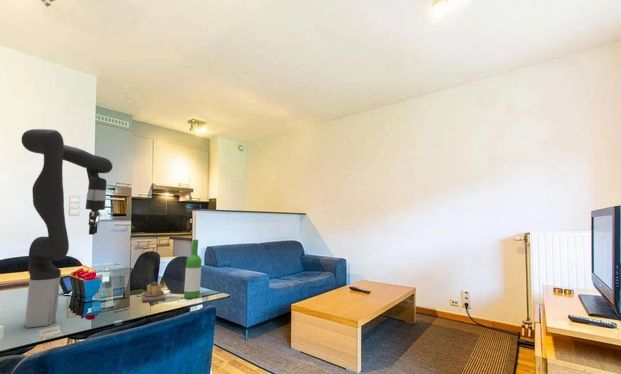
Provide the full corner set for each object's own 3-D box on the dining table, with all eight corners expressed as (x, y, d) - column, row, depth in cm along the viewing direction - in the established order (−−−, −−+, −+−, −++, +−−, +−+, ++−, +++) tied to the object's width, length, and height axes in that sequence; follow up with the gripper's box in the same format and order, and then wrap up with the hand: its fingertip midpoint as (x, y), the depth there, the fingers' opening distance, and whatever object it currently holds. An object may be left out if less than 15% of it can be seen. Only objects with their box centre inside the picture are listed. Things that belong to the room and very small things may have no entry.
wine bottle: (180, 298, 160) (184, 239, 163) (189, 294, 168) (193, 238, 171) (193, 299, 158) (197, 240, 161) (202, 295, 166) (205, 239, 169)
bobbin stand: (165, 300, 154) (166, 284, 155) (142, 302, 150) (143, 286, 150) (162, 293, 168) (163, 278, 169) (142, 295, 164) (143, 279, 164)
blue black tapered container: (79, 297, 157) (81, 278, 158) (54, 296, 158) (56, 277, 159) (102, 290, 172) (103, 273, 173) (79, 289, 173) (81, 272, 174)
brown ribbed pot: (160, 293, 158) (161, 285, 158) (147, 294, 155) (147, 286, 155) (159, 291, 163) (160, 283, 164) (146, 292, 160) (147, 284, 161)
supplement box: (93, 297, 156) (95, 272, 157) (100, 300, 152) (103, 274, 154) (76, 301, 150) (79, 274, 151) (83, 303, 146) (86, 276, 147)
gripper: (88, 199, 152) (85, 233, 150) (84, 198, 139) (80, 235, 138) (106, 200, 155) (103, 233, 154) (104, 199, 143) (100, 234, 141)
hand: (92, 233), depth 146 cm, fingers open, 8 cm apart
